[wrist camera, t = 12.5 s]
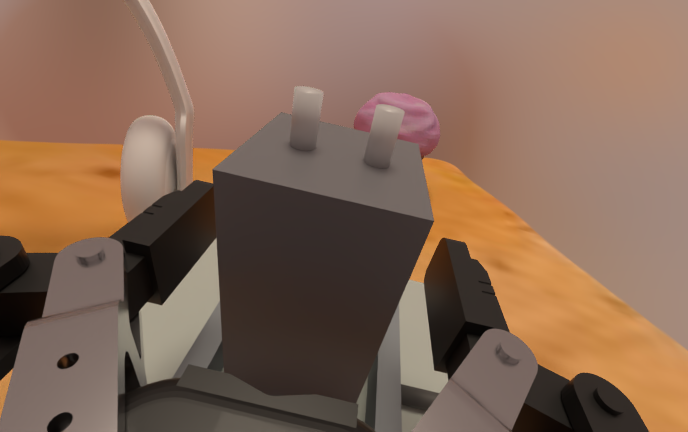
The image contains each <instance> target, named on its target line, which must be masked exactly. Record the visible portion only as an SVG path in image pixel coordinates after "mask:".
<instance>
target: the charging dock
mask: <svg viewBox="0 0 688 432" xmlns="http://www.w3.org/2000/svg"><path fill="white" fill-rule="evenodd" d="M140 311H141V315H142V330H143V347H144V364H145V373H146V379H147V384H150V383H153V382H157V381H161V380H165V379H171V378H179V377H181V376H182V374H183V373H184V371H185V369H186V368H187V366H188V364H190V365H195V366H199V367H203V368H207V369H212V370H216V371H220V372H224V365H223V347H222V329H221V311H220V293H219V275H218V257H217V239H215V240H214V241H213V243H212V244H211V245H210V246H209V248H208V249H207V250H206V251H205V253H204V254H203V255H202V256H201V258H200V259H199V260H198V261H197V263H196V264H195V265H194V266H193V268H192V269H191V270H190V271H189V273H188V274H187V275H186V276H185V277H184V279H183V280H182V281H181V282H180V284H179V285H178V286H177V287H176V289H175V290H174V291H173V292H172V294H171V295H170V296H169V297H168V299H167V300H166V301H165V302H164V304H163V305H158V304H154V303H149V302H147V303H146V304H145V305H144V306H143V307H142V308H141V310H140ZM447 382H448V375H447V373H442V372H438V371H434V365H433V356H432V348H431V340H430V332H429V323H428V315H427V307H426V298H425V290H424V283H421V282H416V281H412V280H409V281H408V283H407V285H406V288H405V290H404V292H403V295H402V297H401V299H400V302H399V304H398V306H397V309H396V311H395V313H394V316H393V318H392V320H391V323H390V325H389V327H388V330H387V332H386V334H385V337H384V339H383V342H382V344H381V346H380V349H379V351H378V353H377V356H376V358H375V360H374V363H373V365H372V367H371V370H370V372H369V374H368V377H367V379H366V381H365V384H364V386H363V388H362V391H361V393H360V395H359V398H358V400H357V402H356V404H358V415H357V418H358V419H360V420H361V421H363V422H365V423H366V424H367V425H369V426H370V427H371V428H373V429H374V430H375V431H376V432H412V430H413V429H414V428H415V426H416V425H417V423H418V422H419V421H420V419H421V418H422V417H423V415H424V414H425V412H426V411H427V410H428V408H429V407H430V406H431V404H432V403H433V402H434V400H435V399H436V397H437V396H438V395H439V393H440V392H441V391H442V389H443V388H444V386H445V385H446V384H447Z"/></svg>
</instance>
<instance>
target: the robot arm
mask: <svg viewBox="0 0 688 432" xmlns="http://www.w3.org/2000/svg"><path fill="white" fill-rule="evenodd" d="M215 239H216V221H215V203H214V185H213V184H212V183H208V182H203V181H199V180H195V181H193V182H192V183H191V184H190V185H188V186H187V187H186V188H185V189H184V190H182V191H180V190H177V191H174V192H172V193H169V194H167V195H164V196H162V197H161V198H160V199H158V200H157V201H156V202H154V203H153V204H152V206H149V207H148V208H147V209H145V210H144V211H143V213H140V214H139V215H138V216H136V217H135V218H134V219H132V220H131V221H130V222H129V223H127V224H126V225H125V226H123V227H122V228H121V229H119V230H118V231H117V232H116V233H114V234H113V235H112V236H110V237H109V238H104V237H97V238H90V239H85V240H81V241H78V242H75V243H73V244H71V245H69V246H67V247H66V248H64V249H63V250H61V251H60V252H59V253H26V252H25V250H24V248H23V246H22V244H21V242H20V241H19V240H18V239H16V238H14V237H10V236H0V380H1V379H2V378H3V377H4V376H5V375H6V374H7V373H9V372H10V371H11V370H12V369H13V372H12V376H11V380H10V384H9V388H8V391H7V395H6V399H5V403H4V407H3V411H2V414H1V418H0V432H376V431H375V430H374V429H373V428H371V427H370V426H369V425H367V424H366V423H365V422H363V421H361V420H360V419H358V418H357V415H358V404H356V403H351V402H347V401H343V400H339V399H334V398H330V397H326V396H322V395H317V394H311V395H287V396H270V395H267V394H265V393H263V392H261V391H259V390H258V389H256V388H254V387H252V386H251V385H249V384H247V383H245V382H244V381H242V380H240V379H238V378H237V377H235V376H233V375H231V374H228V373H224V372H220V371H216V370H212V369H207V368H203V367H199V366H195V365H190V364H188V366H187V368H186V369H185V371H184V373H183V374H182V376H181V377H179V378H171V379H165V380H161V381H157V382H153V383H150V384H147V379H146V373H145V364H144V347H143V330H142V315H141V311H140V310H141V308H142V307H143V306H144V305H145V304H146V303H147V302H149V303H154V304H158V305H163V304H164V302H165V301H166V300H167V299H168V297H169V296H170V295H171V294H172V292H173V291H174V290H175V289H176V287H177V286H178V285H179V284H180V282H181V281H182V280H183V279H184V277H185V276H186V275H187V274H188V273H189V271H190V270H191V269H192V268H193V266H194V265H195V264H196V263H197V261H198V260H199V259H200V258H201V256H202V255H203V254H204V253H205V251H206V250H207V249H208V248H209V246H210V245H211V244H212V243H213V241H214V240H215ZM424 290H425V298H426V307H427V315H428V323H429V332H430V340H431V348H432V356H433V365H434V371H438V372H442V373H447V375H448V382H447V384H446V385H445V386H444V388H443V389H442V391H441V392H440V393H439V395H438V396H437V397H436V399H435V400H434V402H433V403H432V404H431V406H430V407H429V408H428V410H427V411H426V412H425V414H424V415H423V417H422V418H421V419H420V421H419V422H418V423H417V425H416V426H415V428H414V429H413V430H412V432H649V431H648V429H647V427H646V426H645V424H644V422H643V420H642V419H641V417H640V415H639V413H638V412H637V410H636V409H635V407H634V405H633V404H632V403H631V402H630V400H629V399H628V398H627V397H626V396H625V395H624V394H623V393H622V392H621V391H620V390H619V389H618V388H616V387H615V386H614V385H612V384H611V383H610V382H608V381H606V380H605V379H603V378H601V377H599V376H597V375H594V374H590V373H580V374H578V375H576V376H575V377H574V378H573V379H572V380H571V381H570V380H568V379H566V378H564V377H562V376H560V375H558V374H556V373H554V372H552V371H550V370H548V369H546V368H544V367H542V366H540V365H539V364H537V361H536V358H535V356H534V354H533V353H532V351H531V350H530V348H529V347H528V346H527V345H526V344H525V343H524V342H523V341H522V340H520V339H519V338H518V337H516V336H515V335H513V334H511V333H510V332H509V329H508V326H507V324H506V321H505V319H504V316H503V313H502V311H501V308H500V305H499V303H498V300H497V297H496V296H495V292H494V289H493V287H492V286H491V281H490V279H489V276H488V273H487V271H486V270H485V269H484V268H483V266H482V265H481V264H480V263H479V262H478V260H475V259H471V257H470V254H469V251H468V248H467V245H466V243H464V242H460V241H456V240H452V239H447V238H442V239H441V240H440V242H439V244H438V246H437V248H436V250H435V253H434V255H433V257H432V259H431V261H430V264H429V266H428V268H427V270H426V274H425V278H424Z"/></svg>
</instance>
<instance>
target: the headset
mask: <svg viewBox="0 0 688 432" xmlns="http://www.w3.org/2000/svg"><path fill="white" fill-rule="evenodd" d="M123 1H124V2H125V4H126V6H127V7H128V9H129V10H130V12H131V13H132V15H133V17H134V18H135V20H136V22H137V23H138V25H139V27H140V29H141V31H142V33H143V34H144V36H145V38H146V40H147V42H148V44H149V46H150V48H151V50H152V52H153V55H154V57H155V59H156V61H157V63H158V66H159V68H160V70H161V73H162V75H163V78H164V80H165V83H166V85H167V88H168V90H169V93H170V96H171V99H172V102H173V105H174V108H175V131H174V129H173V127H172V126H171V125H170V123H169V122H167V121H166V120H164V119H163V118H161V117H158V116H152V115H148V116H143V117H139V118H137V119H136V120H135V121H133V123H132V124H131V126H130V127H129V129H128V131H127V134H126V138H125V142H124V145H123V151H122V158H121V195H122V203H123V208H124V212H125V215H126V218H127V221H128V222H130V221H131V220H132V219H134V218H135V217H136V216H138V215H139V214H140V213H143V211H144V210H145V209H147V208H148V207H149V206H152V204H153V203H154V202H156V201H157V200H158V199H160V198H161V197H162V196H164V195H167V194H169V193H172V192H174V191H177V190H180V191H182V190H184V189H185V188H186V187H187V186H188V185H190V184H191V183H192V182H193V130H194V115H195V113H194V107H193V103H192V100H191V97H190V94H189V91H188V89H187V86H186V83H185V80H184V77H183V74H182V72H181V69H180V66H179V63H178V61H177V58H176V55H175V53H174V51H173V48H172V46H171V43H170V41H169V39H168V36H167V34H166V32H165V30H164V28H163V26H162V24H161V22H160V20H159V18H158V16H157V14H156V12H155V10H154V8H153V6H152V5H151V3H150V1H149V0H123Z"/></svg>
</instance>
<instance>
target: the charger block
mask: <svg viewBox="0 0 688 432" xmlns="http://www.w3.org/2000/svg"><path fill="white" fill-rule="evenodd" d="M323 94H324V92H323V91H321V90H319V89H316V88H312V87H306V86H296V87H295V88H294V99H293V109H292V115H291V114H286V113H282V112H281V113H280V114H279V115H277V116H276V117H275V118H274V119H273V120H272V121H270V122H269V123H268V124H267V125H265V126H264V127H263V128H262V129H261V130H259V131H258V132H257V133H256V134H255V135H253V136H252V137H251V138H250V139H249V140H248V141H246V142H245V143H244V144H243V145H242V146H240V147H239V148H238V149H237V150H235V151H234V152H233V153H232V154H231V155H229V156H228V157H227V158H226V159H225V160H223V161H222V162H221V163H220V164H219V165H217V166H216V167H215V168H214V169H213V185H214V203H215V221H216V239H217V257H218V275H219V293H220V311H221V329H222V347H223V365H224V373H228V374H231V375H233V376H235V377H237V378H238V379H240V380H242V381H244V382H245V383H247V384H249V385H251V386H252V387H254V388H256V389H258V390H259V391H261V392H263V393H265V394H267V395H270V396H287V395H311V394H317V395H322V396H326V397H330V398H334V399H339V400H343V401H347V402H351V403H356V402H357V400H358V398H359V395H360V393H361V391H362V388H363V386H364V384H365V381H366V379H367V377H368V374H369V372H370V370H371V367H372V365H373V363H374V360H375V358H376V356H377V353H378V351H379V349H380V346H381V344H382V342H383V339H384V337H385V334H386V332H387V330H388V327H389V325H390V323H391V320H392V318H393V316H394V313H395V311H396V309H397V306H398V304H399V302H400V299H401V297H402V295H403V292H404V290H405V288H406V285H407V283H408V281H409V278H410V276H411V274H412V271H413V269H414V267H415V264H416V262H417V260H418V257H419V255H420V253H421V250H422V248H423V246H424V243H425V241H426V239H427V236H428V234H429V232H430V229H431V227H432V225H433V222H434V218H433V213H432V208H431V204H430V199H429V194H428V189H427V184H426V179H425V174H424V169H423V164H422V159H421V154H420V149H419V144H417V143H412V142H408V141H404V140H399V139H397V137H398V134H399V130H400V127H401V124H402V120H403V117H404V113H405V112H404V111H403V110H402V109H400V108H397V107H394V106H391V105H385V104H378V105H376V109H375V113H374V117H373V121H372V125H371V130H370V133H369V132H365V131H360V130H356V129H352V128H347V127H343V126H339V125H334V124H330V123H325V122H321V121H320V115H321V108H322V101H323Z"/></svg>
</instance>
